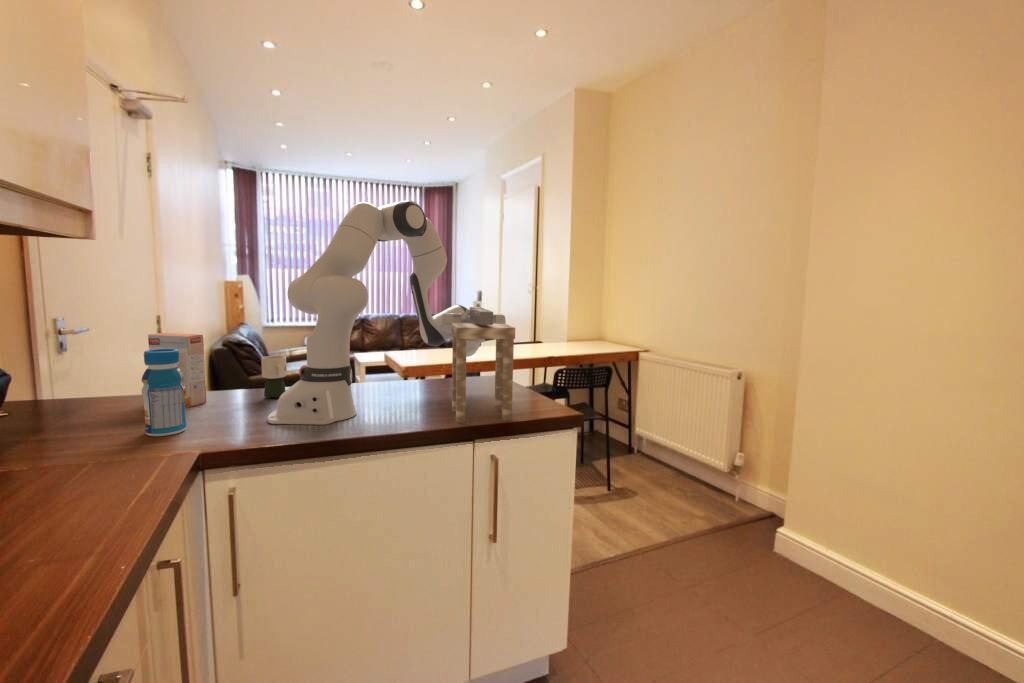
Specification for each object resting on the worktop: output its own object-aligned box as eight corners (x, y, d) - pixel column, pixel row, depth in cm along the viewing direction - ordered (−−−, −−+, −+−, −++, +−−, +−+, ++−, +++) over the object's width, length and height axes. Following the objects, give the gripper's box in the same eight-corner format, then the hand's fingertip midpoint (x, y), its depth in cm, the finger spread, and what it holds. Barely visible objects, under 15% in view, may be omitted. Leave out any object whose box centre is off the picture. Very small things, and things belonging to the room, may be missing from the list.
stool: (455, 422, 128) (456, 327, 125) (450, 409, 142) (451, 323, 139) (513, 420, 132) (515, 327, 129) (503, 407, 145) (504, 323, 142)
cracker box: (207, 403, 142) (204, 334, 140) (190, 408, 137) (186, 336, 134) (170, 399, 146) (166, 331, 143) (151, 404, 140) (146, 333, 137)
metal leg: (479, 324, 127) (480, 311, 126) (469, 318, 148) (469, 306, 147) (492, 324, 127) (493, 311, 127) (480, 318, 149) (480, 307, 148)
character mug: (292, 398, 150) (291, 358, 148) (268, 402, 145) (267, 360, 144) (281, 392, 158) (279, 354, 156) (257, 395, 153) (256, 356, 151)
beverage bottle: (165, 438, 110) (160, 353, 108) (135, 435, 112) (129, 351, 109) (196, 428, 118) (191, 349, 116) (167, 425, 120) (162, 347, 118)
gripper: (439, 321, 156) (442, 301, 143) (500, 322, 160) (508, 303, 148) (439, 339, 153) (442, 320, 141) (501, 339, 158) (509, 321, 145)
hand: (476, 311), depth 144 cm, fingers closed on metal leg, 3 cm apart
